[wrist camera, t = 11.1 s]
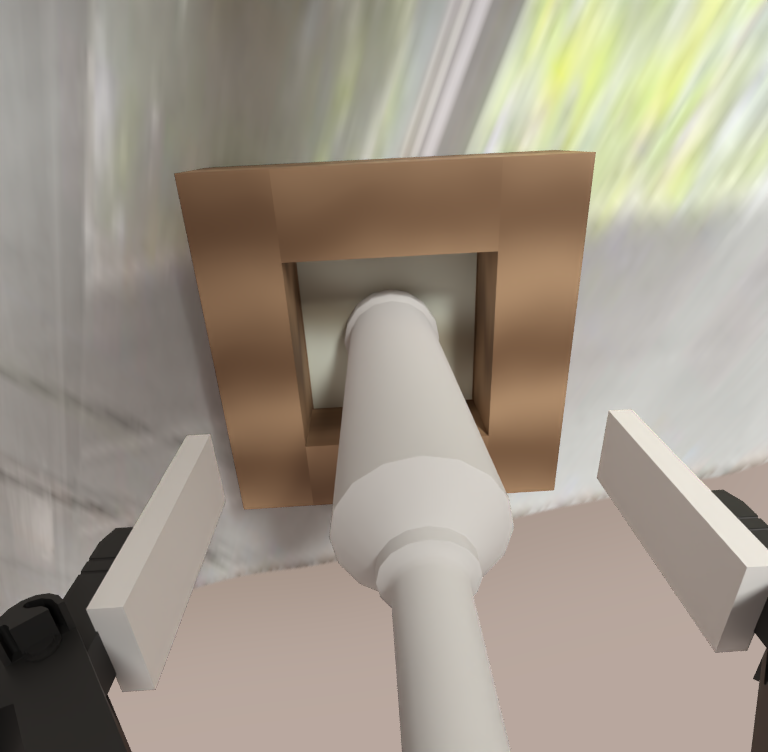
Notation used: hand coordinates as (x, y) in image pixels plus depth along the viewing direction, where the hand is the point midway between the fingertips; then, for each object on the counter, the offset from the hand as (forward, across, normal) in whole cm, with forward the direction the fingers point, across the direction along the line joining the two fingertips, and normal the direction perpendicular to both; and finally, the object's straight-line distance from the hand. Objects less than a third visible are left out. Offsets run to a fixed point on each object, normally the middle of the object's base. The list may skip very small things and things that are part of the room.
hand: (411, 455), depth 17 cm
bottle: (+13, 0, 0) cm, 14 cm away
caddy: (+14, 0, 0) cm, 14 cm away
